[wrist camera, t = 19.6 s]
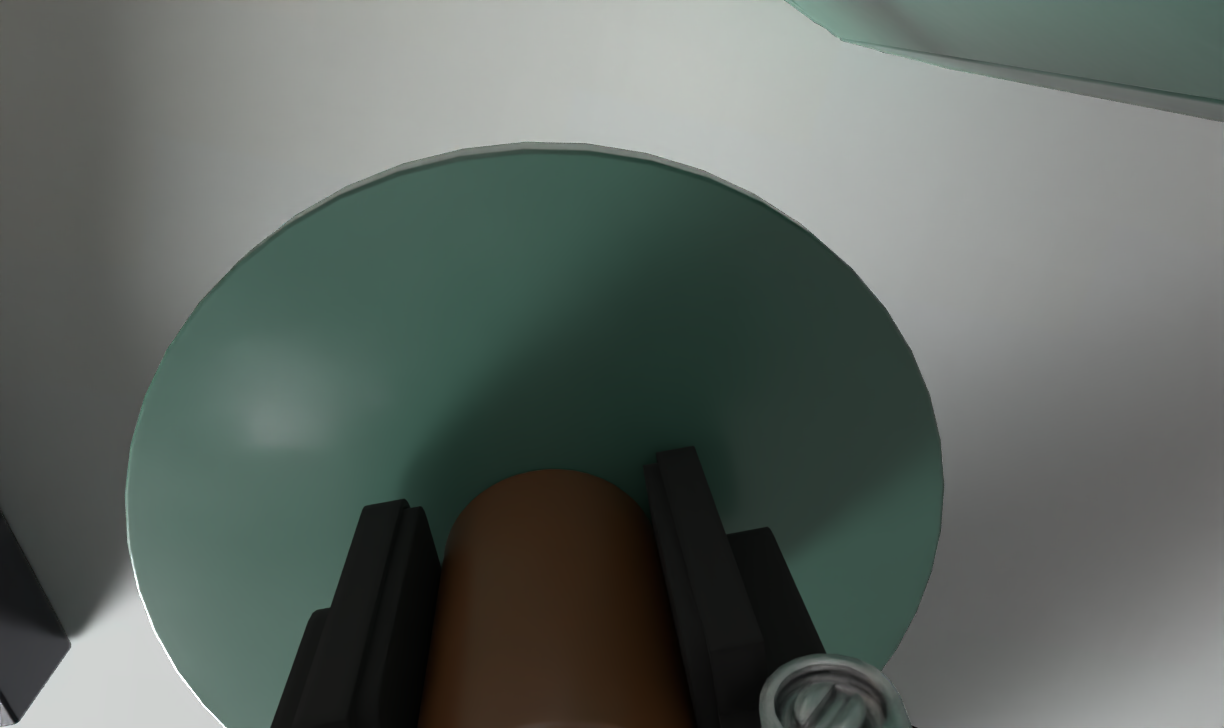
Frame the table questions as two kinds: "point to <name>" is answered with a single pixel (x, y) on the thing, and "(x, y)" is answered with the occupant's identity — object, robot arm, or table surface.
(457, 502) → the tin lid
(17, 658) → the button block
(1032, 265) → the table surface
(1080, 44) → the tin
